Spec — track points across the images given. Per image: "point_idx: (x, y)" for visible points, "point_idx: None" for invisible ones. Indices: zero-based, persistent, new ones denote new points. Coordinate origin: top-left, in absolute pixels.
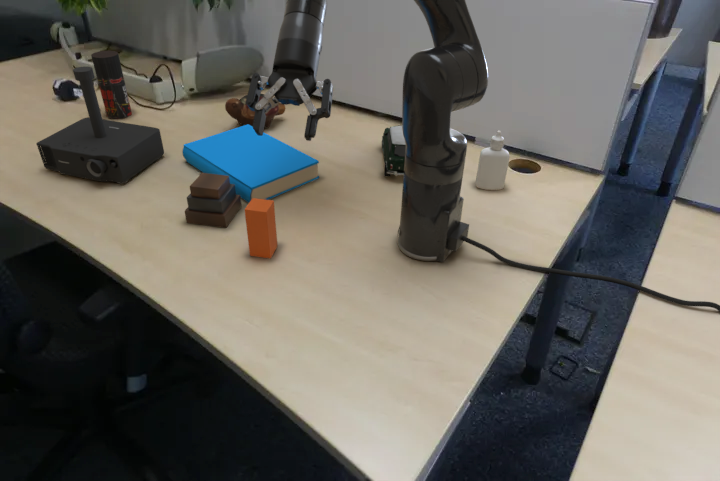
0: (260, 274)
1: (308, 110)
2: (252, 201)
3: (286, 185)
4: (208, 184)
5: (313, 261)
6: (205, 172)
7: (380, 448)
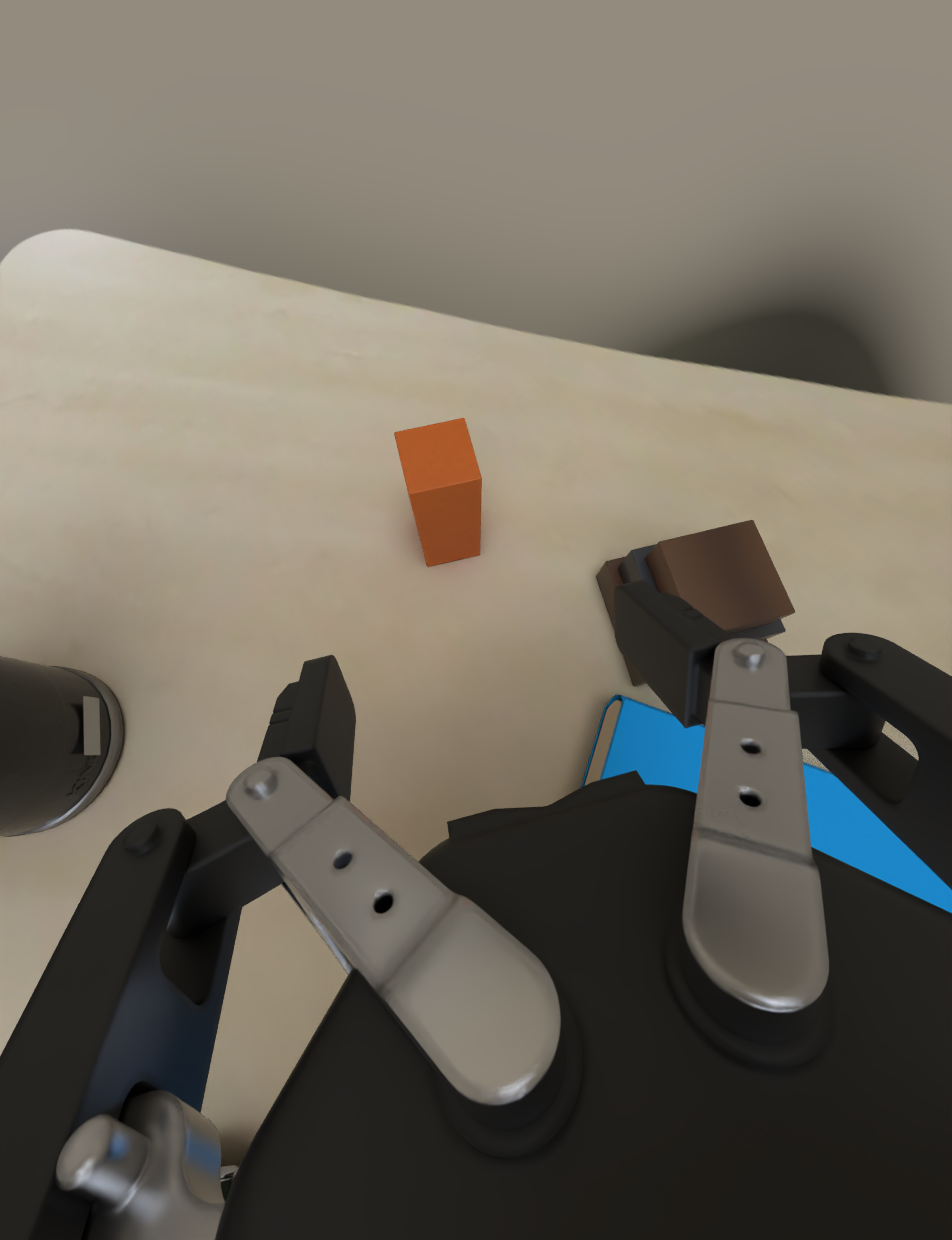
0: None
1: (308, 778)
2: (468, 461)
3: None
4: (709, 554)
5: (316, 554)
6: None
7: (61, 253)
